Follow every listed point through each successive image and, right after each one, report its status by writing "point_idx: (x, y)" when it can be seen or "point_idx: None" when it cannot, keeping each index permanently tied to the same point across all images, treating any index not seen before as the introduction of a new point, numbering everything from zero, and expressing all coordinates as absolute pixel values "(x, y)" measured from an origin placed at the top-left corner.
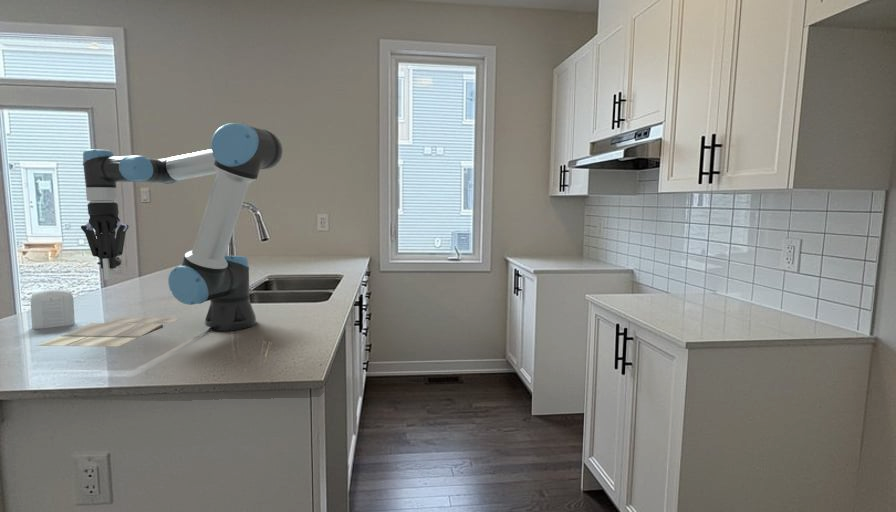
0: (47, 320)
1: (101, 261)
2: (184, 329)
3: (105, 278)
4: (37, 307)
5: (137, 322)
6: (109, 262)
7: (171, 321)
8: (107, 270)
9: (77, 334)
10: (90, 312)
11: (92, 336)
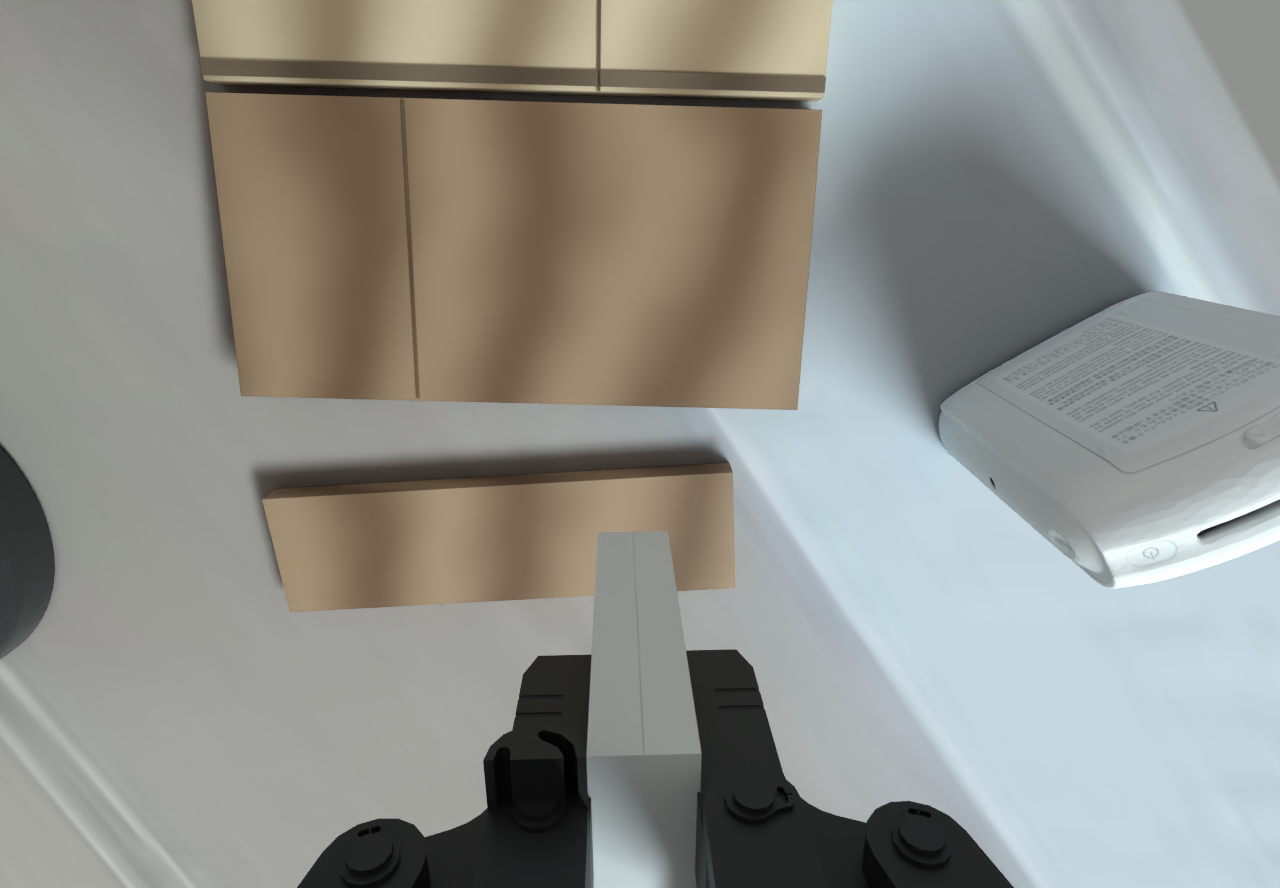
0: (1110, 342)
1: (749, 743)
2: (129, 410)
3: (653, 542)
4: (1259, 334)
5: (513, 490)
6: (585, 730)
7: (287, 525)
8: (611, 604)
9: (726, 128)
10: (1059, 793)
11: (570, 70)
